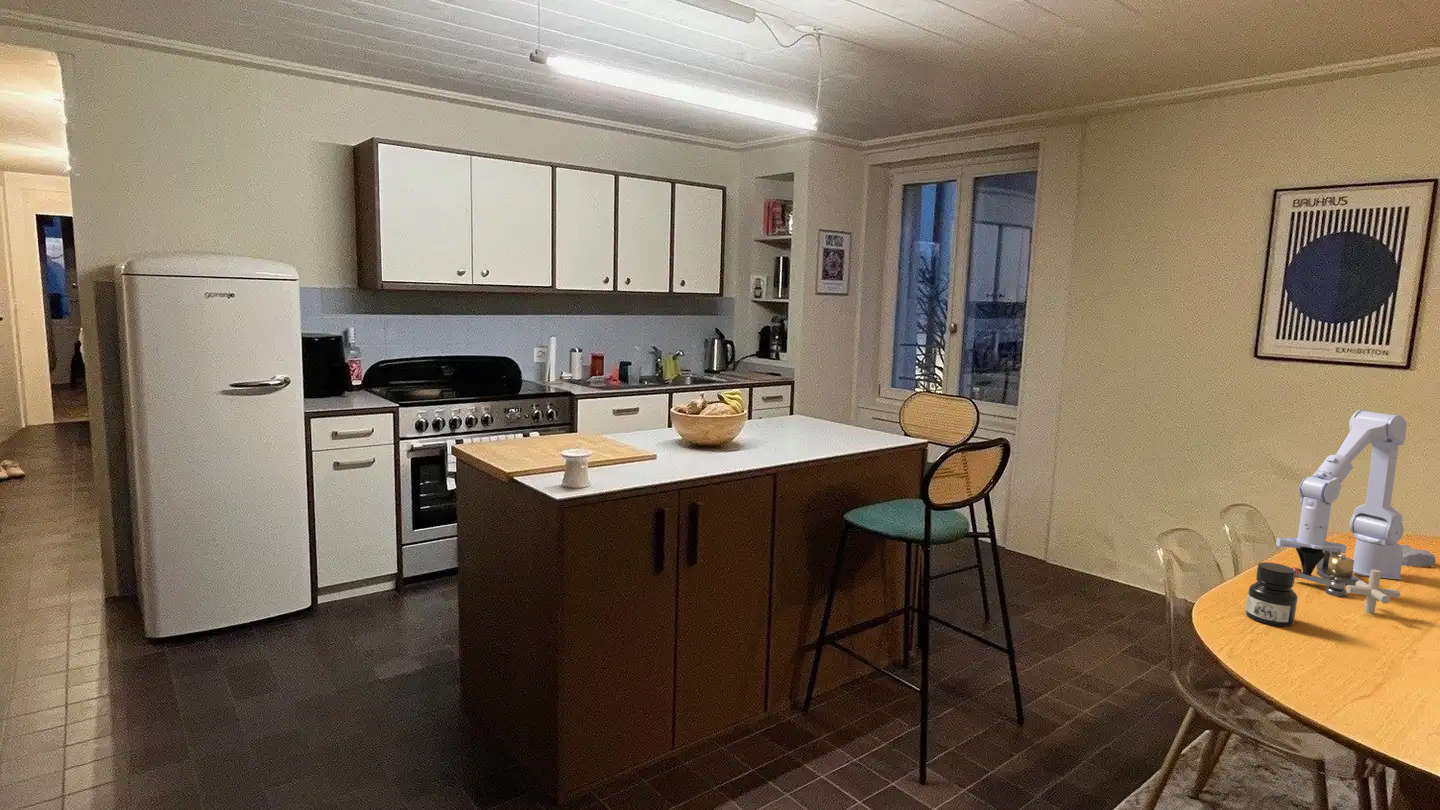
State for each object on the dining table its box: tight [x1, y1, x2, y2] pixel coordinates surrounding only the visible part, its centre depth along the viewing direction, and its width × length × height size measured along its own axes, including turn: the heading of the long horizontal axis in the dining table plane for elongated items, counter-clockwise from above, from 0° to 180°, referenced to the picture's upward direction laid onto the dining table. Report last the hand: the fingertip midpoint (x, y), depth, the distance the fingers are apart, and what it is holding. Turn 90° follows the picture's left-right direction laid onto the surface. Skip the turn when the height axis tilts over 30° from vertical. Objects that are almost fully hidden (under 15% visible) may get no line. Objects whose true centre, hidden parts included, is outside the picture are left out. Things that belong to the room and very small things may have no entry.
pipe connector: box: [1345, 569, 1401, 615], centre depth 181 cm, size 10×10×10 cm
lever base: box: [1324, 577, 1347, 598], centre depth 193 cm, size 4×4×4 cm
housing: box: [1327, 553, 1354, 578], centre depth 203 cm, size 5×5×5 cm
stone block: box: [1399, 544, 1437, 567], centre depth 222 cm, size 12×5×10 cm
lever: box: [1291, 566, 1346, 591], centre depth 196 cm, size 3×11×2 cm, turn 30°
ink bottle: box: [1245, 561, 1298, 627], centre depth 175 cm, size 10×9×12 cm
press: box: [1316, 551, 1363, 586], centre depth 206 cm, size 7×12×7 cm, turn 165°
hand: (1306, 576), depth 200 cm, fingers closed
